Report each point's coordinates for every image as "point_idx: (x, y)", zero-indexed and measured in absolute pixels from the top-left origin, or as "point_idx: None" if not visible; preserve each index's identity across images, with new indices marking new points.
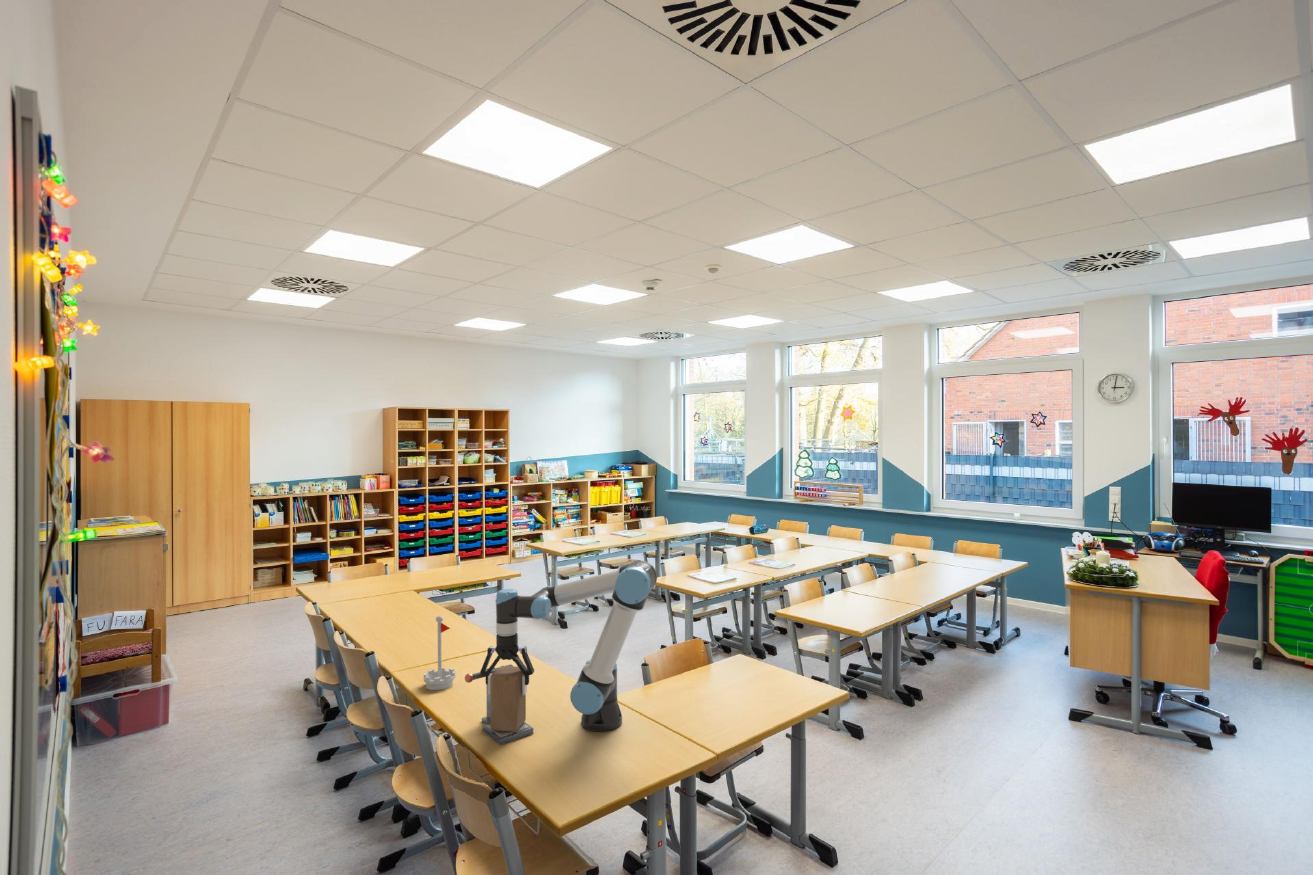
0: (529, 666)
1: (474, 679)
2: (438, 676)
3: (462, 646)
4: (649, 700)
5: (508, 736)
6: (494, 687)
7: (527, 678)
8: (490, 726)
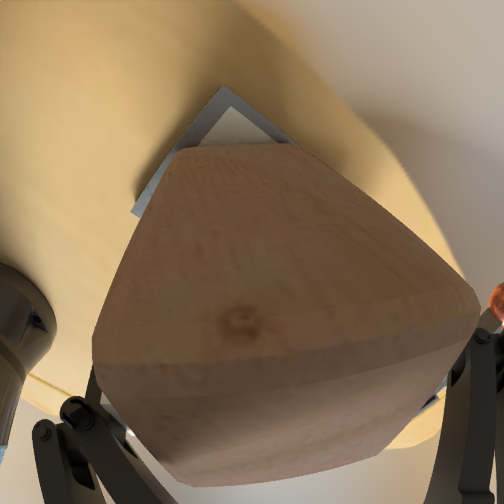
0: (45, 493)
1: (483, 313)
2: None
3: (414, 428)
4: (21, 391)
5: (197, 116)
6: (377, 226)
7: (91, 394)
8: None
